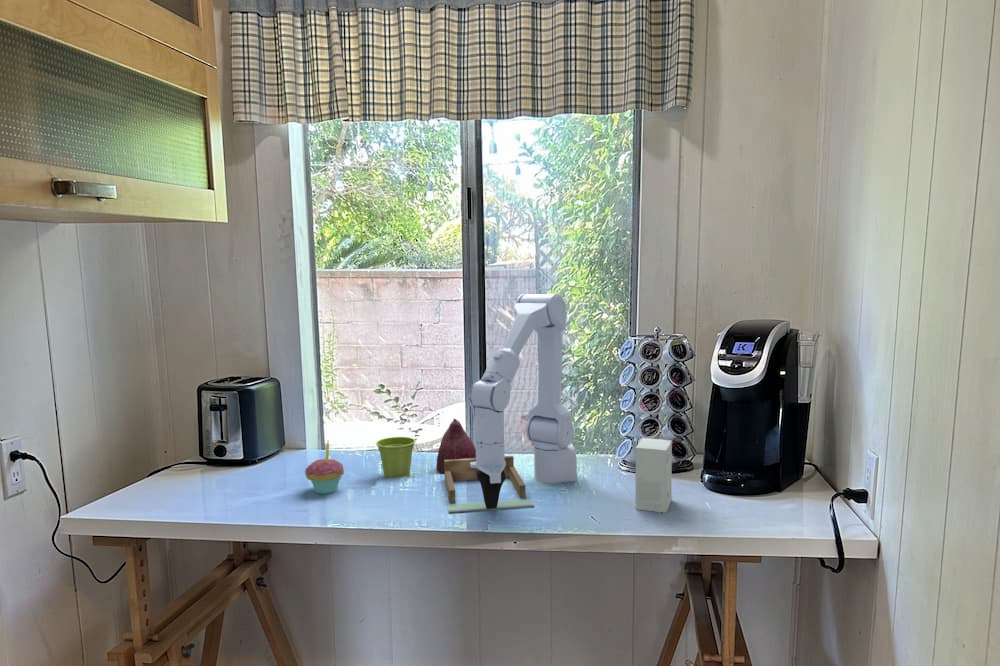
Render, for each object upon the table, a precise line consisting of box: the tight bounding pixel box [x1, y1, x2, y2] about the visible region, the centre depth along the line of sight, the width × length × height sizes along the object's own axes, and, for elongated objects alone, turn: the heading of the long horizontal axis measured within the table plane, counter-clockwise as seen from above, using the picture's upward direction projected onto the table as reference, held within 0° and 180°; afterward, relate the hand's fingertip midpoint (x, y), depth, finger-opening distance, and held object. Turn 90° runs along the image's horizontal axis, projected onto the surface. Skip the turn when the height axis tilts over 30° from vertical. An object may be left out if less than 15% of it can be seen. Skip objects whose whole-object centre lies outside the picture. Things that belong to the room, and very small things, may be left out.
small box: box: [634, 437, 673, 514], centre depth 128 cm, size 8×6×13 cm
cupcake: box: [304, 440, 345, 495], centre depth 141 cm, size 9×8×12 cm
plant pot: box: [375, 436, 416, 479], centre depth 150 cm, size 9×9×9 cm
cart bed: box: [444, 455, 527, 504], centre depth 136 cm, size 16×16×6 cm
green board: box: [446, 498, 535, 515], centre depth 126 cm, size 17×1×5 cm
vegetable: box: [435, 418, 476, 475], centre depth 154 cm, size 10×10×15 cm
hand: (491, 506), depth 125 cm, fingers closed
